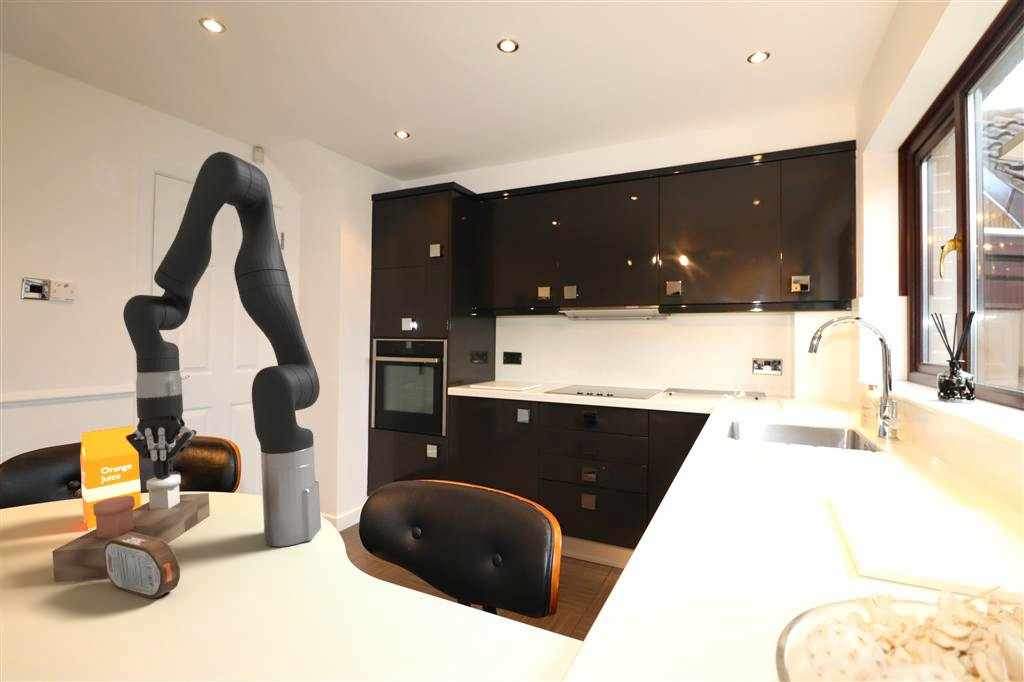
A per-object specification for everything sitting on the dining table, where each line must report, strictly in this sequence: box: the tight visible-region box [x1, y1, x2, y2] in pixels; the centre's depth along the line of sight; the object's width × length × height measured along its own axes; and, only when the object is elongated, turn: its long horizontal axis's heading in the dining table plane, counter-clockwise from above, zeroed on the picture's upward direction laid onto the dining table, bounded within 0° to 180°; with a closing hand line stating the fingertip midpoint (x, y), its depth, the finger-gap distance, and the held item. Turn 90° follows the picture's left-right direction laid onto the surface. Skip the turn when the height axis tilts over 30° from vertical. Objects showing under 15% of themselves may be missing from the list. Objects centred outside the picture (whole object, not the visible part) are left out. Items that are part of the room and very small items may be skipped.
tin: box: [104, 532, 181, 599], centre depth 72 cm, size 15×3×8 cm, turn 67°
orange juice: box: [79, 425, 142, 529], centre depth 102 cm, size 8×9×20 cm
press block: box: [52, 492, 211, 582], centre depth 90 cm, size 10×26×5 cm, turn 4°
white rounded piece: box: [146, 473, 182, 510], centre depth 96 cm, size 6×6×6 cm
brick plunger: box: [93, 496, 135, 538], centre depth 83 cm, size 6×6×6 cm
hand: (163, 477), depth 96 cm, fingers closed
